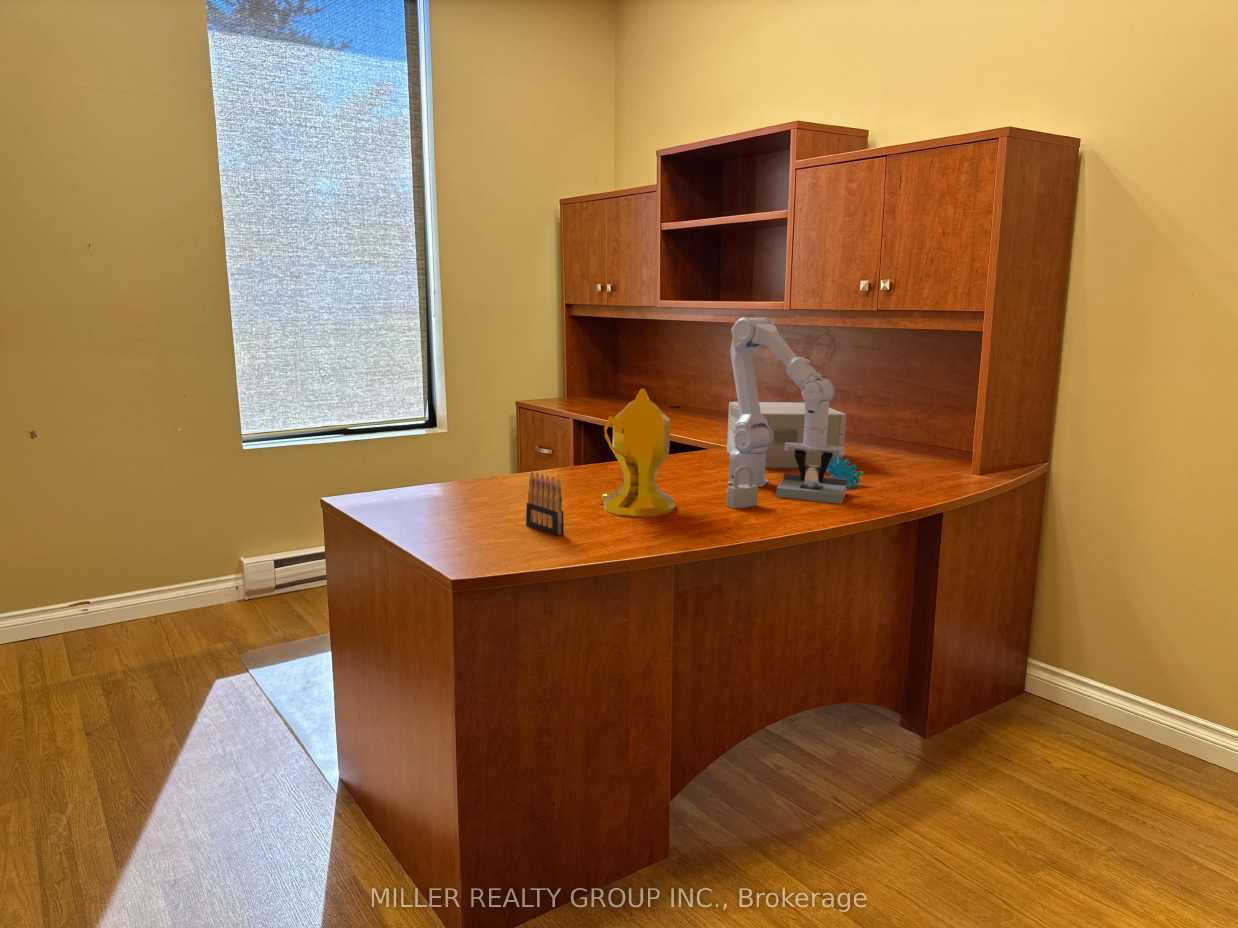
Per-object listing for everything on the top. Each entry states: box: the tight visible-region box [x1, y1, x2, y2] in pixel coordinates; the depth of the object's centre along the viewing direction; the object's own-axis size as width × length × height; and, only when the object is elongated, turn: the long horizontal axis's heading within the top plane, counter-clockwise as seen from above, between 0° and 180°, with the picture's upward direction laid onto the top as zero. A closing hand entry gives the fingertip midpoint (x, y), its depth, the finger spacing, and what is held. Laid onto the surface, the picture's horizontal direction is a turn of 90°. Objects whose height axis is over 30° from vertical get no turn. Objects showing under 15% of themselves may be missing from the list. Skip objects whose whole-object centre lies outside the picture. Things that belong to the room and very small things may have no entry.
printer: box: [726, 401, 847, 469], centre depth 263 cm, size 27×29×16 cm
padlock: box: [726, 465, 759, 509], centre depth 204 cm, size 7×4×10 cm, turn 118°
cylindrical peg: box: [803, 465, 821, 490], centre depth 215 cm, size 4×4×7 cm
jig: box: [775, 472, 847, 505], centre depth 217 cm, size 16×12×4 cm
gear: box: [826, 456, 864, 490], centre depth 230 cm, size 11×6×10 cm
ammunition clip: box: [525, 470, 565, 537], centre depth 179 cm, size 11×2×12 cm, turn 43°
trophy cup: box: [597, 388, 676, 518], centre depth 198 cm, size 18×24×28 cm
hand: (811, 480), depth 216 cm, fingers closed on cylindrical peg, 4 cm apart
